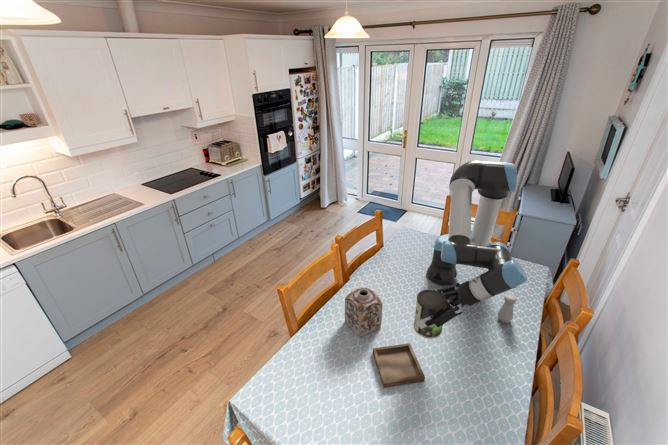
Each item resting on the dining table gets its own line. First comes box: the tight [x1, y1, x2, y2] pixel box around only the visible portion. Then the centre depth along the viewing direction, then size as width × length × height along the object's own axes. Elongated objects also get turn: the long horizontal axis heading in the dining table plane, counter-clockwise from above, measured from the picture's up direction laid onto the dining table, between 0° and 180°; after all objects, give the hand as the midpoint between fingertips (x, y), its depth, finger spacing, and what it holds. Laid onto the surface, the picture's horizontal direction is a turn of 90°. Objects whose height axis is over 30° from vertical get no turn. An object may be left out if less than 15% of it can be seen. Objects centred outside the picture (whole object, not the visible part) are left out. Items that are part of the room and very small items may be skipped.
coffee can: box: [412, 289, 449, 340], centre depth 112 cm, size 10×10×14 cm
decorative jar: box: [344, 286, 383, 338], centre depth 130 cm, size 12×12×18 cm
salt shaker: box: [497, 293, 517, 324], centre depth 132 cm, size 6×6×13 cm
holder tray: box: [372, 342, 426, 389], centre depth 115 cm, size 15×15×2 cm
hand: (420, 315), depth 114 cm, fingers closed on coffee can, 10 cm apart
